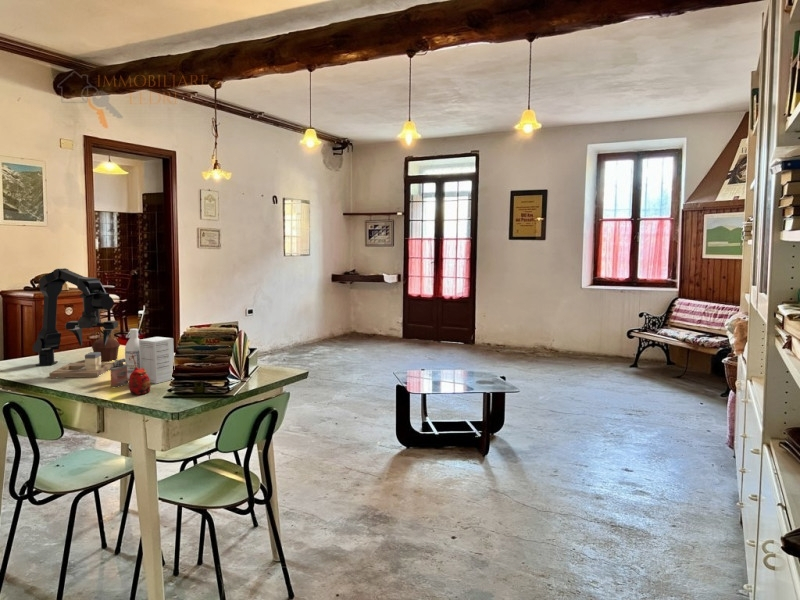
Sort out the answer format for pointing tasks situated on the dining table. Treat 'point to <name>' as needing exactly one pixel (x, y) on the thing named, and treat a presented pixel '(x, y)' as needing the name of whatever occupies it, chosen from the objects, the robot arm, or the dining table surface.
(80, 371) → the wooden frame
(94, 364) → the block
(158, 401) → the dining table surface
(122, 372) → the lighter
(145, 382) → the red clay folk toy
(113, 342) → the muffin
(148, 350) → the supplement box
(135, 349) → the bath foam
